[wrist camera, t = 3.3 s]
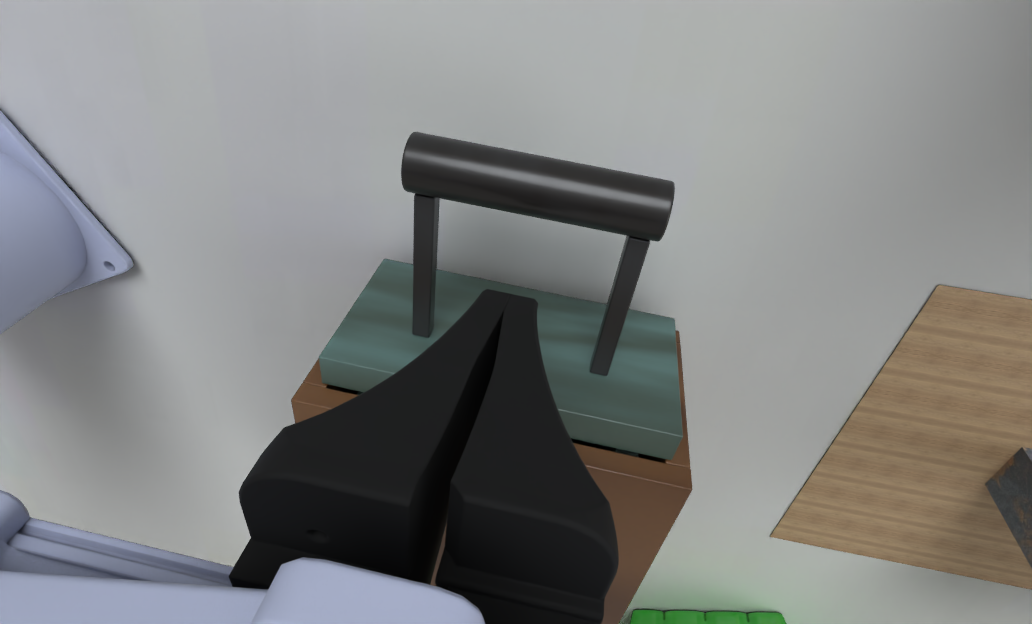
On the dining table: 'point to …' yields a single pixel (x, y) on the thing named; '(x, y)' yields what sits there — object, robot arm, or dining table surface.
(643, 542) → the cabinet
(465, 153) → the green drawer
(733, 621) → the fruit basket
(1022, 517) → the architectural model on board
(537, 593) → the robot arm
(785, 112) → the dining table surface
